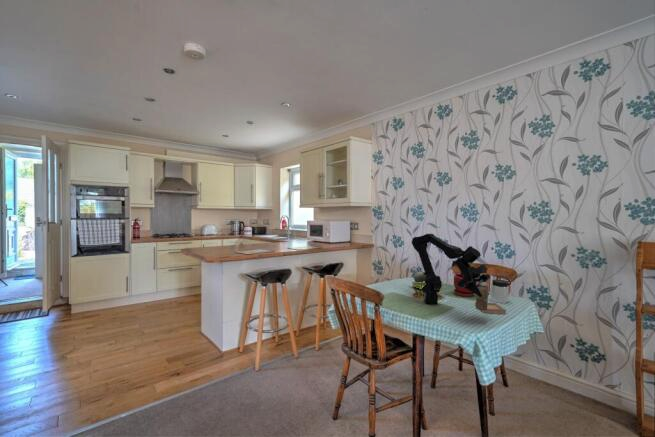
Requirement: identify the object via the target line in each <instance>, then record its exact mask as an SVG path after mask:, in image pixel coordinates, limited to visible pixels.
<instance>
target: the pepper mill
mask: <svg viewBox="0 0 655 437" xmlns="http://www.w3.org/2000/svg"><path fill="white" fill-rule="evenodd" d="M476 285H477V288H478V289H479V291H480V293H481V294H482V297H479V296H478V295H476V294H475V296H476V297H475V298H476V299H475V302H476V307H475V309H477V310H479V311H480V310H487V305H488V303H489V300H488V298H489V295H488V293H489V286H488V282H487V281H486V282H484V281H479V285H478V284H476Z"/></svg>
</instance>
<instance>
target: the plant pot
mask: <svg viewBox="0 0 655 437" xmlns="http://www.w3.org/2000/svg"><path fill="white" fill-rule="evenodd" d="M462 278H464V276H463V275H460V273H454V275H453V285H454V290H453V293H455V294H456V295H458V296H461V297H472V296H474V295H475V293H473V292H471V291H470V290H468V289H465V287H466V284H465V285H464V287H463V288H459V286H458V282H459V281H460V280H461V279H462Z"/></svg>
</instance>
